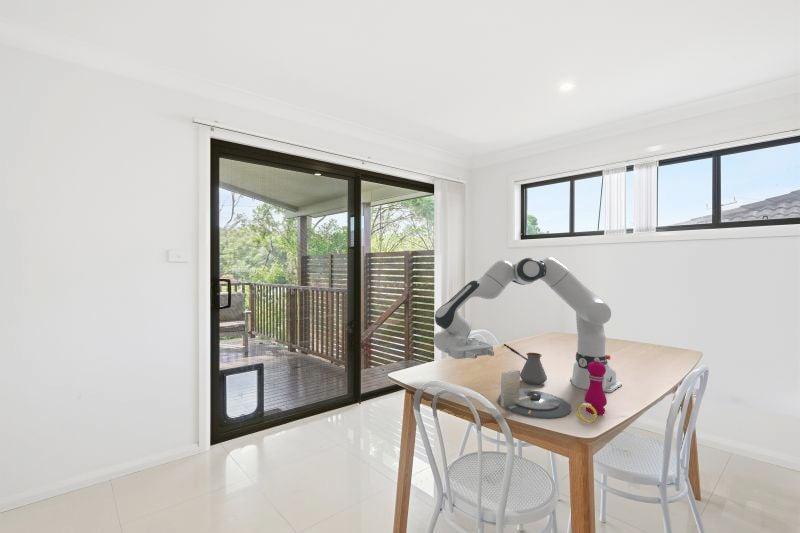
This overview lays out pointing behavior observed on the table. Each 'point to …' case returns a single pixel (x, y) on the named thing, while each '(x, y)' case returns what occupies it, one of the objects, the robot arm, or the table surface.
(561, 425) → the table surface
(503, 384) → the dial
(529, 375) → the coffee pot
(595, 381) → the pepper mill
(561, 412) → the dial base
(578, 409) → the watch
